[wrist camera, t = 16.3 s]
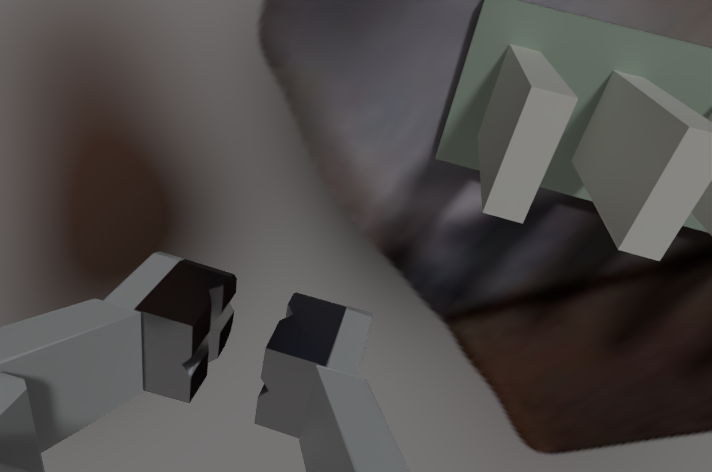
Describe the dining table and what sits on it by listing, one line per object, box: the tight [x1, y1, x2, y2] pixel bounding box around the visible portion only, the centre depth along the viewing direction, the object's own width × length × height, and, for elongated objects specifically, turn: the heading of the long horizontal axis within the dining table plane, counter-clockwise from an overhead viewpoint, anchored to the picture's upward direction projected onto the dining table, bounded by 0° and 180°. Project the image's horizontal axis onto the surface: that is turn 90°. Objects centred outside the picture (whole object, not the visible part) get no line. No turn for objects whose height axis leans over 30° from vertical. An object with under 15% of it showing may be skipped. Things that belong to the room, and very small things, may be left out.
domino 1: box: [477, 44, 578, 224], centre depth 25 cm, size 2×6×11 cm, turn 168°
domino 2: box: [571, 70, 712, 261], centre depth 24 cm, size 2×6×11 cm, turn 168°
